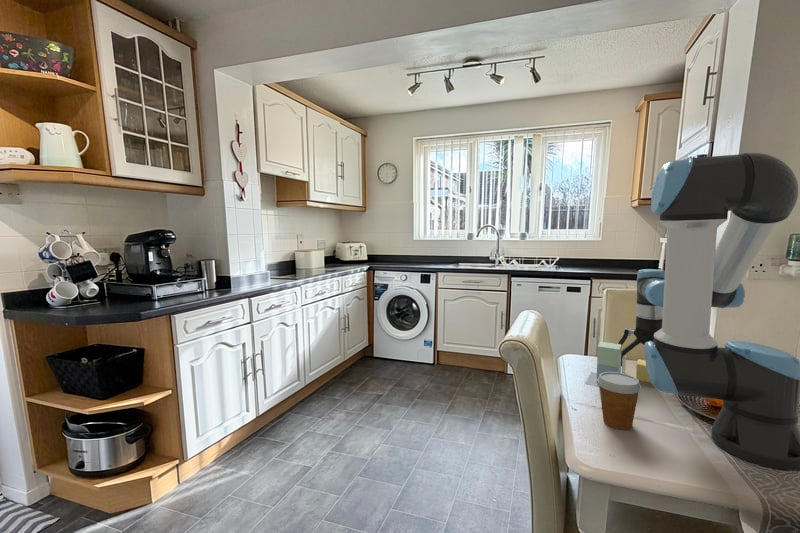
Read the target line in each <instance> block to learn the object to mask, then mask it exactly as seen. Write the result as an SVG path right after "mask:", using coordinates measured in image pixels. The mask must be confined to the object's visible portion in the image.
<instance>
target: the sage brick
mask: <svg viewBox="0 0 800 533" xmlns="http://www.w3.org/2000/svg"><path fill="white" fill-rule="evenodd" d="M622 346H623V345H621V344H618V343H613V342H607V341H606V342H605V341H599V343H598V345H597V349H596V350H597V351H596V352H597V357H596V358H597V362H596V363H597V364H598V365H603V366H609V367H615V368H619V367H620V364H621V351H622ZM597 364H596V365H597Z"/></svg>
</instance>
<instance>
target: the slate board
mask: <svg viewBox="0 0 800 533" xmlns="http://www.w3.org/2000/svg"><path fill="white" fill-rule="evenodd" d="M584 385H588V386H593V387H597V388H598V387H599V384H598V383H597V372H594V371H592V372H590V374H589V375H588V377H587V379H586V381H585V383H584Z"/></svg>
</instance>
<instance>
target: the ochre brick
mask: <svg viewBox="0 0 800 533" xmlns="http://www.w3.org/2000/svg"><path fill="white" fill-rule="evenodd" d="M635 373H636V374H635V375H636V376H635V378H636V379H638V381H642V382H646V383H647V382H648V383H651V381H650V378H649V375H648V371H647V367H646V361H645V359H639V358H638V359H637V362H636V372H635Z"/></svg>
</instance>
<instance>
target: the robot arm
mask: <svg viewBox="0 0 800 533" xmlns="http://www.w3.org/2000/svg"><path fill="white" fill-rule="evenodd" d="M653 184H654V185H653V186H652V187H653V188H652V192H651V199H650V203H651V206H650V209H651V210H650V211H651V212H652V214H654V215H656V216H658V215H659V223H660V224H662V225H663V226H664V227H665V228H666V243H665V244H666V247H665V263H664V264H665V265H664V270H663V269H654V268H653V269H652V268H645V269H639V270H638V271H637V278H636V303H635V304H636V305H635V314H636V315H637V316H636V317H635V329H634V330H633V329H630V328H629V327H625V328H624V331H623V335H622V336H621V338H620V340H619V341H618V342H617V344H621V345H622V346H623V344H625V342H626V340H627V339H628V337H630V336H632V335H634V336H635V339H634V340H633V341H632V342H631V343H630V344H628V345H627V346H626V347H625V348H623V349H621V373H623V374H626V366H627V365H626V364H627V362H626V361H627V360H626V359H627V356H626V354H627V355H628V353H629V352H631V350H633V349H634V348H636V347H637V346H638V345H639V344H642V346H643V347H644V348H643V349H644V350H643V351H644V352H643V353H644V360H645V361H646V367H647V371H648V375H649V378H650V381H651V382H650V383H651V385H652V386H653V387H654V389H656V390H657V391H659V392H661V393H667V394H673V395H675V396H688V397H697V398H701V399H702V398H703V399H710V400H711V399H712V400H720V401H722V407H721V409H720V411H719V412H718V415H717V416H716V418H715V419H714V422H713V423H712V425H711V433H710V434H711V436H710V437H711V440H712V442H714V443H715V444H716V445H717V446H718V447H720V448H721V449H722V450H724V451H726V452H728V453H729V454H731V455H734V456H736V457H737V458H740V459H742V460H745V461H747V462H750V463H754V464H756V465H760V466H763V467H768V468H772V469H778V470H784V471H799V470H800V427H799V411H800V360H799V359H798V358H797V357H796V356H794V354H791V353H789V352H787V351H784V350H781V349H778V348H775V347H772V346H768V345H764V344H760V343H754V342H750V341H743V340H727V341H726V342H725V343H724V347H718V346H719V343H718V341H717V339H715V338H714V337H713V336H712V335H711V334H710V330H711V316H712V315H711V314H712V308H718V309H728V308H733V309H734V308H739V307H741V306H742V305H743V303H744V302H745V300H744V299H745V297H746V296H745V295H746V293H745V292H746V291H745V287H744V285H743V283H741V282H742V281H743V279H744V278H745V277H746V274H747V273H748V271H749V270H750V268H751V266H752V265H753V263H754V262H755V260H756V258H757V256H758V255H759V253H760V252H761V250H762V248H763V246H765V244H766V242H767V240H768V238H769V237H770V235H771V233H772V232H773V231H774V230H775V227H776V226H777V224H779V223H782V222H783V221H785V220H786V219H788V217H789V216H790V215H791V213H792V212H793V210H794V208H795V206H796V204H797V201H798V198H799V182H798V180H797V177H796V175H795V173H794V171H793V170H792V168H791V167H790V166H789V165H788V164H786V162H784V161H783V160H781V159H780V158H778V157H775V156H773V155H770V154H768V153H760V152H747V153H746V152H743V153H741V154H728V155H727V154H726V155H715V156H702V157H691V158H684V159H678V160H671V161H668V162H667V163H664V164H663V166H662V167H661V168H660V170H659V171H658V173H657V174H656V178H655V181H654V183H653ZM729 212H731V217H730V218H729V221H728V217H729V216H728V215H729ZM726 221H728V222H727V225H726V226H725V229H724V231H723V234H722V236H721V237H720V240H719V242H718V244H717V237H718V236H717V234H718V233H717V232H718V228H719V227H720V226H721V225H723V224H724V223H725V222H726Z"/></svg>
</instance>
